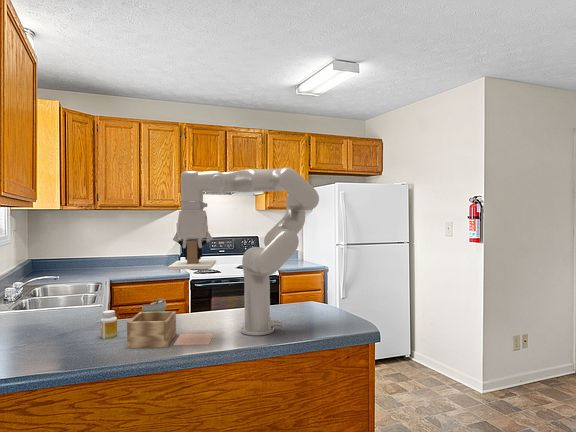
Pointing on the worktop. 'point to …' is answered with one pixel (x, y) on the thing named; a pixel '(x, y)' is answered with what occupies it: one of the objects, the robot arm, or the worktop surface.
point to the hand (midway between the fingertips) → (193, 258)
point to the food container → (155, 306)
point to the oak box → (151, 329)
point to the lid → (192, 259)
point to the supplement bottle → (108, 325)
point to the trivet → (193, 339)
